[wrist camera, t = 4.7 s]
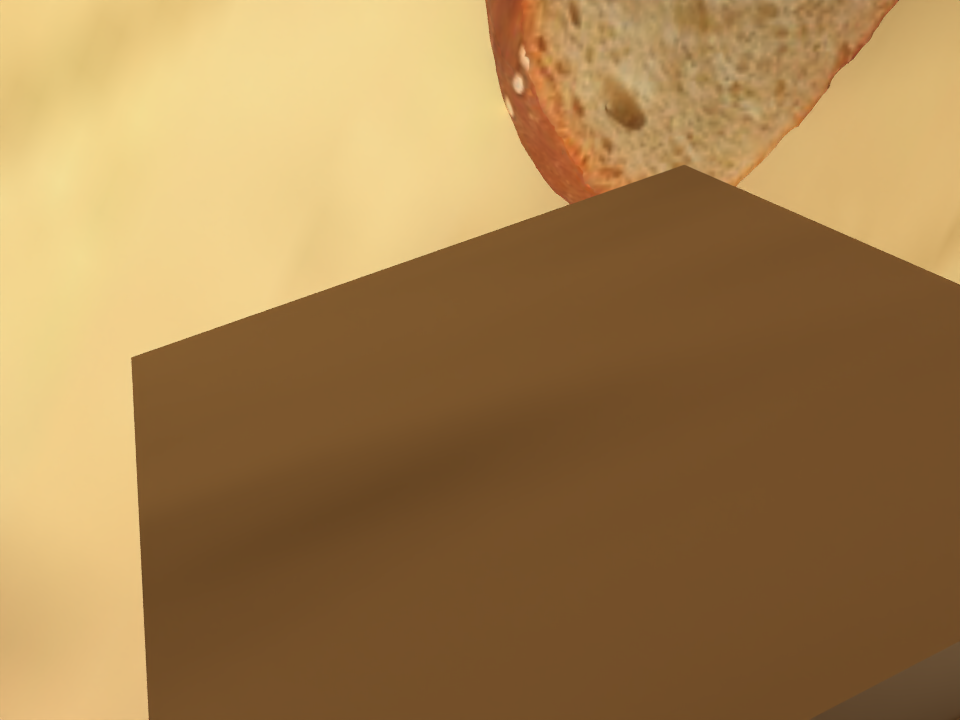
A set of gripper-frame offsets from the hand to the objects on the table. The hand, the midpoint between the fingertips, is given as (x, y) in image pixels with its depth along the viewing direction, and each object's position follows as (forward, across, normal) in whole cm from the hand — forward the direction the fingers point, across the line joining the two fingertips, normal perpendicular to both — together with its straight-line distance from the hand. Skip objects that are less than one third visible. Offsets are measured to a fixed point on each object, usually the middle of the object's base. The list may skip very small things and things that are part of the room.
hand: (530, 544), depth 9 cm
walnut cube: (+1, 0, 0) cm, 1 cm away
